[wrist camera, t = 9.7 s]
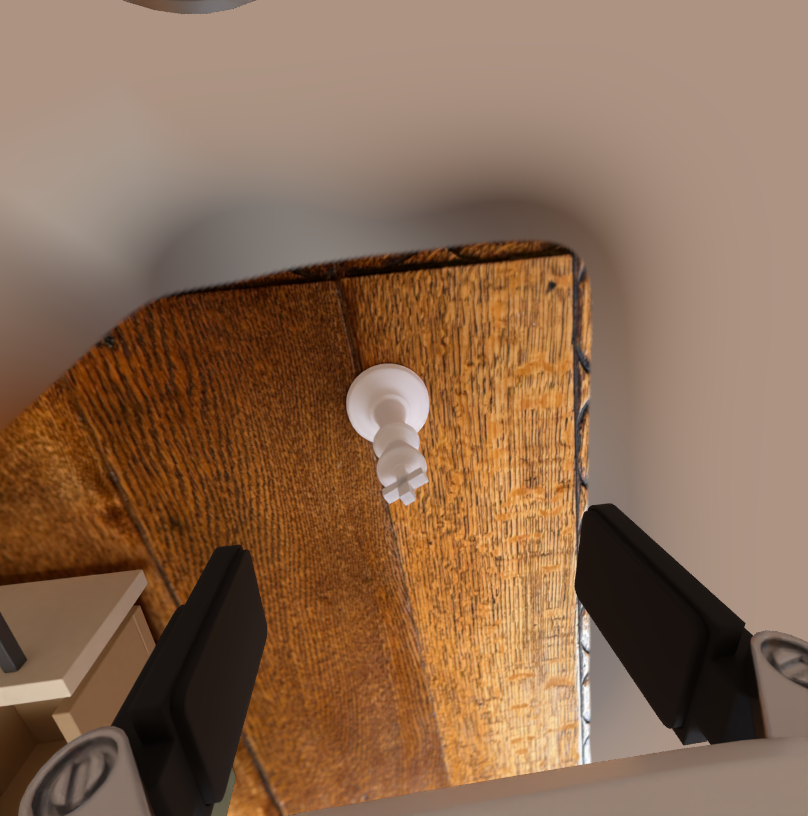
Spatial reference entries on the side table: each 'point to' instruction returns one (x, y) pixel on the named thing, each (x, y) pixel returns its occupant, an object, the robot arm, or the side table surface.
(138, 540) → the side table surface
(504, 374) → the side table surface
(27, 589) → the drawer
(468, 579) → the side table surface
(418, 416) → the chess piece
